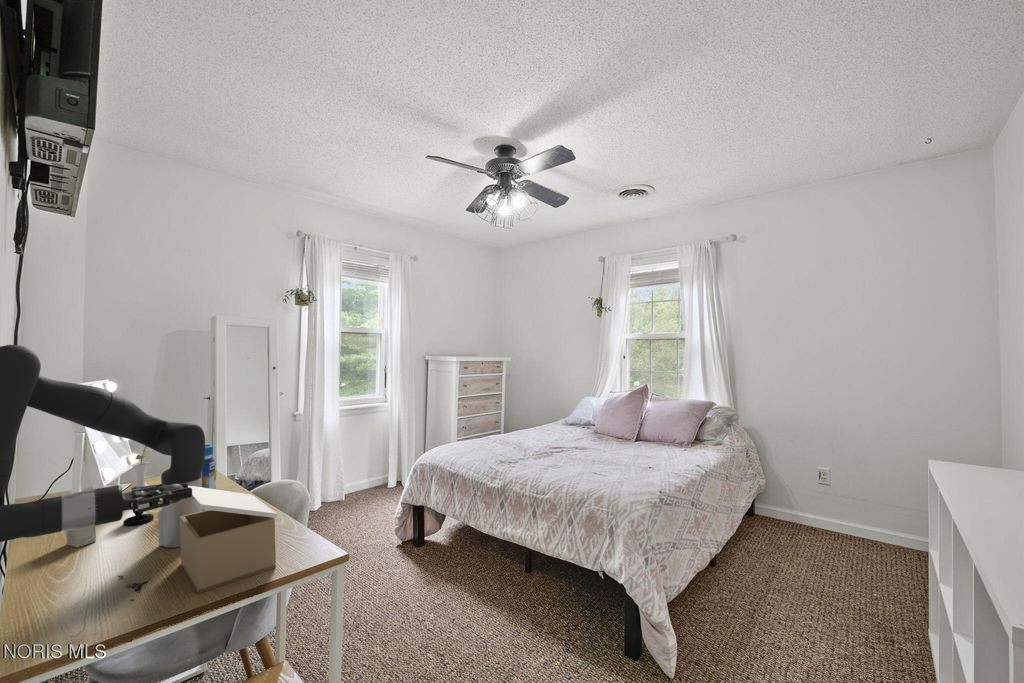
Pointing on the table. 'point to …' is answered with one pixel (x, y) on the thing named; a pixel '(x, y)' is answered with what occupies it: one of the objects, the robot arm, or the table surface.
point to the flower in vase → (141, 469)
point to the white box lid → (225, 501)
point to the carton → (225, 547)
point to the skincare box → (81, 536)
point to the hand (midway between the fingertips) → (189, 489)
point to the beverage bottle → (209, 469)
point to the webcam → (131, 521)
